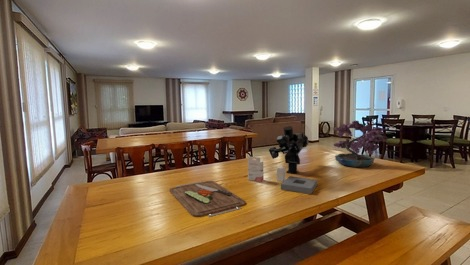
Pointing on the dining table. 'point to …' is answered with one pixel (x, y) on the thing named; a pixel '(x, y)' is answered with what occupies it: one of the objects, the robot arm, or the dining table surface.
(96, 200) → the dining table surface
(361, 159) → the bonsai tree
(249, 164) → the ink cartridge box
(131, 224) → the dining table surface
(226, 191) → the chopping board
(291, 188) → the socket block
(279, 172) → the plug peg
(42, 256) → the dining table surface
